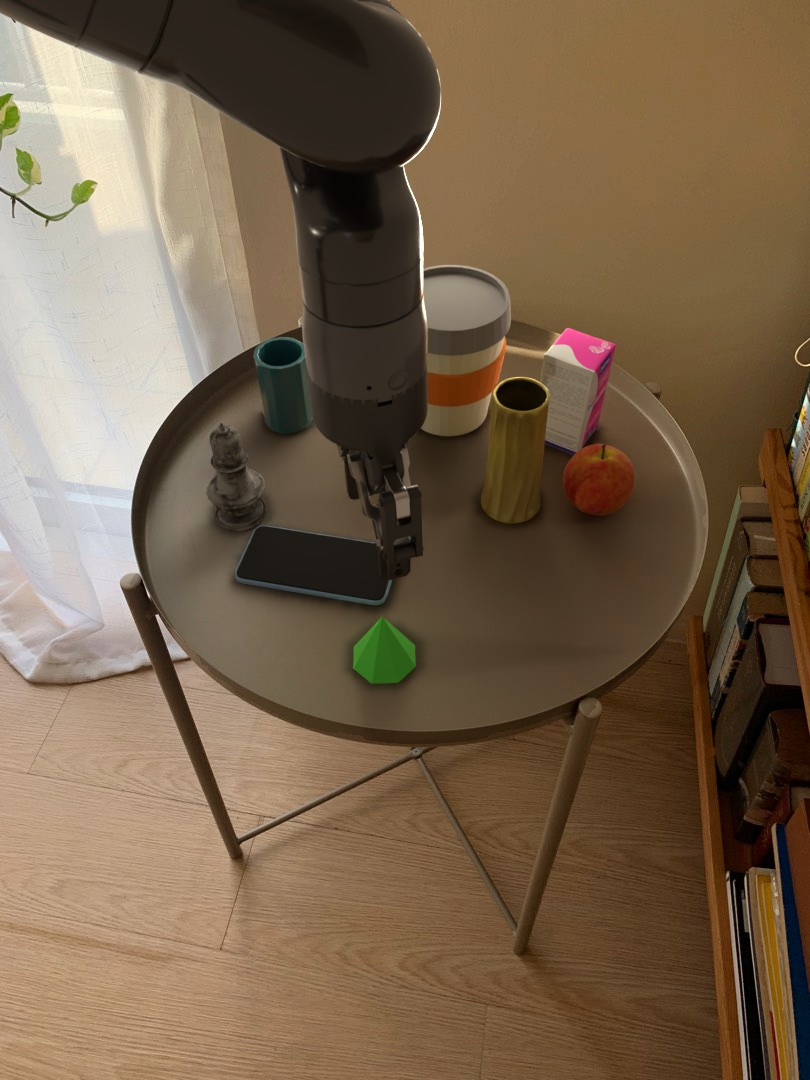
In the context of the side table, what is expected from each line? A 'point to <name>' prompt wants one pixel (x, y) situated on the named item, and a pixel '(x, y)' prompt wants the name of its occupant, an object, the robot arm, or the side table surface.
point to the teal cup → (283, 384)
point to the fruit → (598, 479)
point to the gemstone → (384, 654)
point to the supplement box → (575, 388)
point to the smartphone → (313, 565)
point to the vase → (515, 450)
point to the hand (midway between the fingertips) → (377, 533)
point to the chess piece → (234, 483)
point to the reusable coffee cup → (463, 345)
